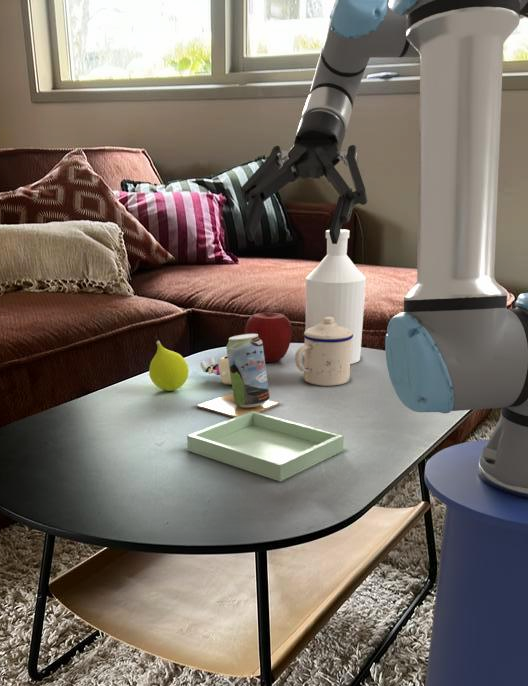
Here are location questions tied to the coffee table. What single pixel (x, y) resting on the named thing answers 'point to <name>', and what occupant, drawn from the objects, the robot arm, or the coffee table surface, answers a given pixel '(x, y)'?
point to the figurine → (218, 369)
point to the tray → (265, 445)
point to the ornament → (168, 369)
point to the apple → (271, 333)
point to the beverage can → (247, 370)
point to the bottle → (337, 292)
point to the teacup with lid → (326, 354)
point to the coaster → (233, 406)
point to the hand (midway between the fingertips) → (290, 236)
